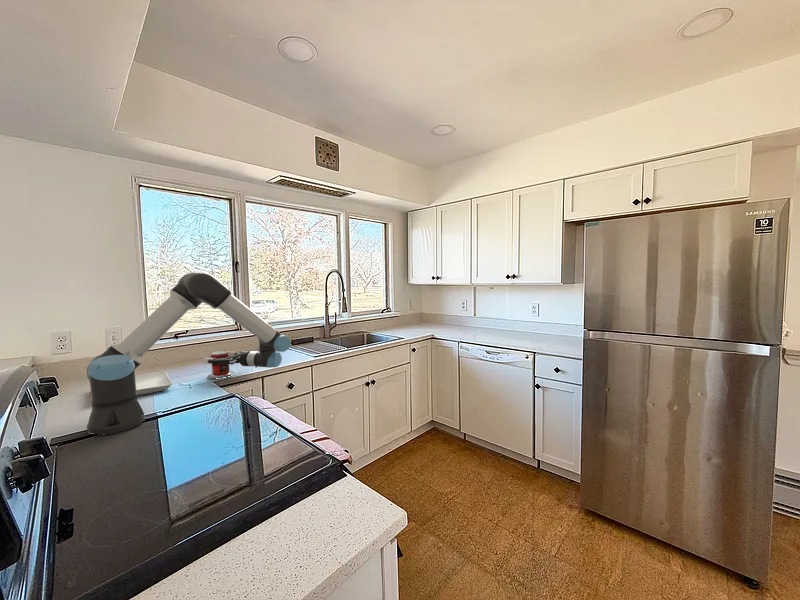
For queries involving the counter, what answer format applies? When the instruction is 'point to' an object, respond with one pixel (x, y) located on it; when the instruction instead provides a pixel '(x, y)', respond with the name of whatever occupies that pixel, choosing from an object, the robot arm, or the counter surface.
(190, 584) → the counter surface
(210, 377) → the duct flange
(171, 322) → the robot arm
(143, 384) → the square plate
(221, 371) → the canned food
